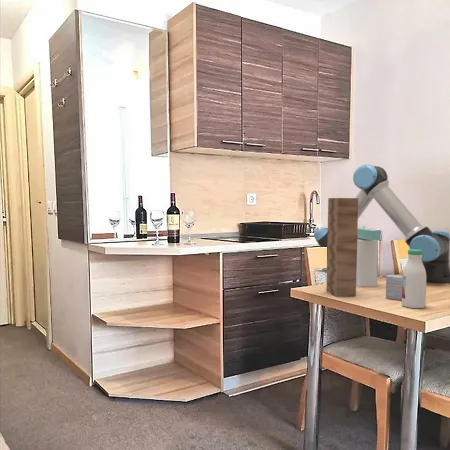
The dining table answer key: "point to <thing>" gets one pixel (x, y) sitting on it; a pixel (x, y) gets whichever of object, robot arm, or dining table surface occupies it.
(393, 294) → the medicine box
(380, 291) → the dining table surface
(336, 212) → the walnut stand
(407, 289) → the milk bottle
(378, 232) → the teal bar
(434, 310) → the dining table surface
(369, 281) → the grey block
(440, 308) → the dining table surface
